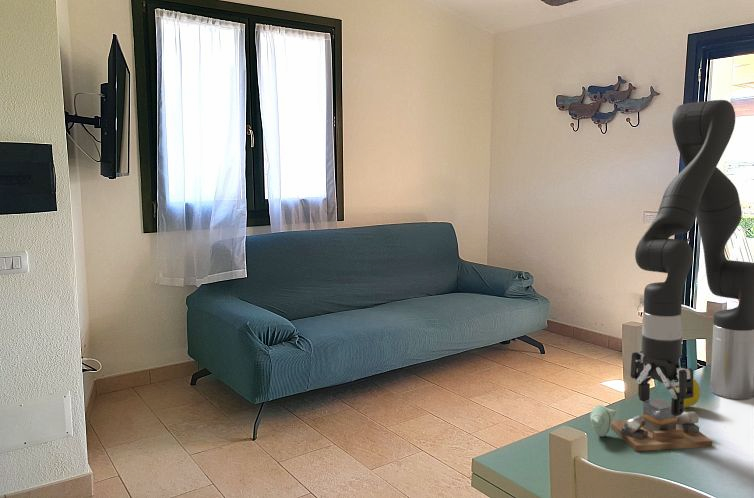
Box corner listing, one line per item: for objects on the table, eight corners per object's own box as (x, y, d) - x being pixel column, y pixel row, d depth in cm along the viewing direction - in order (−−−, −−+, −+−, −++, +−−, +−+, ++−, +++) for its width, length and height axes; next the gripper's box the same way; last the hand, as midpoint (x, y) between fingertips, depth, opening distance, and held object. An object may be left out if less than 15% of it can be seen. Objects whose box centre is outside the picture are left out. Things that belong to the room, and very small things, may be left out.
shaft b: (629, 428, 126) (629, 412, 125) (649, 435, 122) (650, 419, 122) (619, 434, 123) (619, 418, 123) (639, 441, 120) (640, 424, 120)
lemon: (702, 413, 135) (704, 379, 134) (676, 411, 137) (678, 378, 135) (694, 403, 141) (696, 371, 140) (670, 402, 142) (671, 370, 141)
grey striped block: (658, 424, 128) (659, 397, 127) (676, 432, 123) (677, 405, 123) (642, 428, 126) (643, 401, 125) (659, 436, 122) (660, 409, 121)
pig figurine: (600, 445, 122) (600, 414, 121) (581, 439, 125) (582, 408, 124) (618, 433, 127) (619, 403, 126) (600, 427, 130) (601, 398, 129)
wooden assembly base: (678, 421, 131) (679, 401, 131) (712, 446, 119) (713, 424, 119) (608, 425, 130) (609, 405, 130) (635, 451, 119) (636, 428, 118)
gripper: (704, 339, 117) (702, 417, 119) (648, 322, 130) (647, 392, 132) (676, 345, 114) (674, 424, 116) (622, 327, 127) (621, 398, 130)
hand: (659, 407), depth 124 cm, fingers open, 8 cm apart
